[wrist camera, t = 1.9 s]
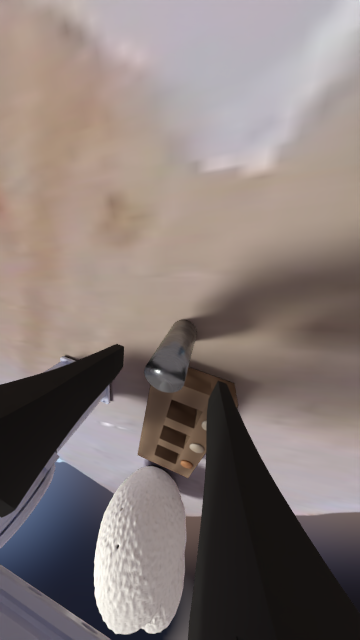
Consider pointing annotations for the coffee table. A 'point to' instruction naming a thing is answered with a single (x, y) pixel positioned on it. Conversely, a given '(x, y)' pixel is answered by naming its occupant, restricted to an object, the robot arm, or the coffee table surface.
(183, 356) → the pin
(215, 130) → the coffee table surface
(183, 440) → the pin board
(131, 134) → the coffee table surface
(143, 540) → the white textured round lump
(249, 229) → the coffee table surface
